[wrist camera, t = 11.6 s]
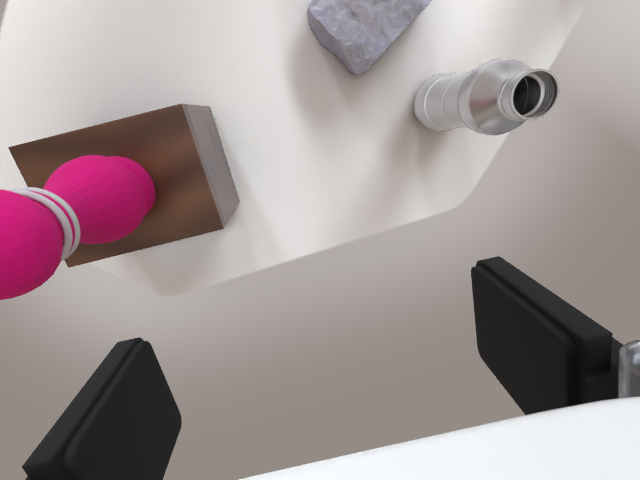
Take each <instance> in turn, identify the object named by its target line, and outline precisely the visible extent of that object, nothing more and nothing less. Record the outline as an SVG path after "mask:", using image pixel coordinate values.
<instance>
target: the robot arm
mask: <svg viewBox="0 0 640 480" xmlns="http://www.w3.org/2000/svg"><path fill="white" fill-rule="evenodd" d="M471 277H472V289H473V300H474V312H475V323H476V334H477V346H478V350H479V353H480V356H481V358H482V359H483V361H484V362H485V363H486V365H487V366H488V367H489V369H490V370H491V371H492V372H493V374H494V375H495V376H496V378H497V379H498V380H499V381H500V383H501V384H502V385H503V387H504V388H505V389H506V390H507V392H508V393H509V394H510V396H511V397H512V398H513V399H514V401H515V402H516V403H517V405H518V406H519V407H520V408H521V410H522V411H523V412H524V413H525V416H520V417H515V418H511V419H506V420H502V421H497V422H493V423H488V424H484V425H479V426H475V427H470V428H466V429H461V430H457V431H452V432H448V433H443V434H438V435H434V436H430V437H425V438H420V439H416V440H411V441H407V442H403V443H398V444H394V445H389V446H385V447H381V448H376V449H372V450H367V451H363V452H358V453H354V454H349V455H345V456H341V457H336V458H332V459H328V460H323V461H318V462H314V463H310V464H305V465H301V466H297V467H292V468H288V469H283V470H279V471H274V472H270V473H265V474H261V475H257V476H252V477H248V478H243V479H239V480H640V340H635V341H632V342H629V343H627V344H625V345H623V344H621V343H619V342H618V341H617V340H615V339H614V338H613V337H612V333H611V332H610V331H608V330H607V329H605V328H604V327H602V326H601V325H599V324H598V323H596V322H595V321H593V320H592V319H591V318H589V317H588V316H586V315H585V314H583V313H582V312H580V311H579V310H577V309H576V308H574V307H573V306H571V305H570V304H569V303H567V302H565V301H564V300H562V299H561V298H560V297H558V296H557V295H555V294H554V293H552V292H551V291H549V290H548V289H546V288H545V287H543V286H542V285H540V284H539V283H538V282H536V281H535V280H533V279H532V278H530V277H529V276H527V275H526V274H525V273H523V272H521V271H520V270H519V269H517V268H516V267H514V266H513V265H511V264H510V263H508V262H507V261H505V260H504V259H503V258H501V257H494V258H489V259H485V260H480V261H478V262H477V264H476V267H473V268H472V269H471ZM180 429H181V415H180V412H179V410H178V407H177V405H176V402H175V400H174V398H173V396H172V393H171V391H170V388H169V386H168V384H167V381H166V379H165V376H164V374H163V372H162V369H161V367H160V365H159V362H158V360H157V358H156V355H155V353H154V351H153V348H152V346H151V344H150V343H149V342H148V341H144V340H142V339H141V338H134V339H130V340H126V341H121V342H118V343H117V344H116V345H115V346H114V348H113V349H112V350H111V351H110V353H109V354H108V355H107V356H106V358H105V359H104V360H103V362H102V363H101V364H100V366H99V367H98V368H97V369H96V371H95V372H94V373H93V375H92V376H91V377H90V379H89V380H88V381H87V383H86V384H85V385H84V387H83V388H82V389H81V390H80V392H79V393H78V394H77V396H76V397H75V398H74V400H73V401H72V402H71V403H70V405H69V406H68V407H67V409H66V410H65V411H64V413H63V414H62V415H61V417H60V418H59V419H58V420H57V422H56V423H55V424H54V426H53V427H52V428H51V430H50V431H49V432H48V434H47V435H46V436H45V437H44V439H43V440H42V441H41V443H40V444H39V445H38V447H37V448H36V450H34V452H33V453H32V454H31V456H30V457H29V458H28V460H27V461H26V462H25V464H24V465H23V466H22V468H23V469H24V471H25V472H26V474H27V475H28V477H27V478H26V480H163V477H164V474H165V471H166V468H167V465H168V463H169V460H170V457H171V454H172V451H173V449H174V446H175V443H176V440H177V437H178V434H179V431H180Z"/></svg>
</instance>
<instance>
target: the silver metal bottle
mask: <svg viewBox="0 0 640 480" xmlns="http://www.w3.org/2000/svg"><path fill="white" fill-rule="evenodd" d="M558 96H559V83H558V81H557V78H556V77H555V76H554V74H552V73H551V72H550V71H548V70H545V69H531V68H530V67H529V66H528V65H527V64H525V63H523V62H521V61H518V60H515V59H511V58H498V59H494V60H491V61H489V62H486V63H484V64H482V65H480V66H478V67H477V68H475V69H473V70H472V71H470V72H467V73H464V74H457V73H441V74H438V75H435V76H433V77H432V78H430V79H429V80H427V81H426V82H425V83H424V84H423V85H422V86H421V87H420V89H419V90H418V92H417V94H416V97H415V101H414V110H415V114H416V116H417V118H418V120H419V121H420V122H421V123H422V124H423V125H424V126H426V127H427V128H429V129H432V130H435V131H446V130H451V129H454V128H457V127H464V128H468V129H470V130H473V131H475V132H477V133H481V134H485V135H500V134H504V133H506V132H509V131H511V130H513V129H515V128H517V127H518V126H520V125H521V124H523V123H524V122H525V121H526V120H535V119H538V118H541V117H543V116H544V115H546V114H547V113H548V112H549V111H550V110H551V109H552V108H553V107H554V105H555V103H556V101H557V99H558Z"/></svg>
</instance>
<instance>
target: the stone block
mask: <svg viewBox="0 0 640 480" xmlns="http://www.w3.org/2000/svg"><path fill="white" fill-rule="evenodd" d="M430 2H431V0H312V2H311V3H310V5H309V7H308V12H307V13H308V20H309V25H310V27H311V29H312V30H313V31H314V33H315V35H316V36H317V39H318V40H319V42H320V44H321V45H322V46H323V47H325V48H327V49H328V50H329V51H330V52H331V53H333V54H334V55H335V56H336V57H337V58H339V59H340V61H341V62H342V63H343V64H344V65H345V67H346V68H347V69H348V70H349V71H350V72H351V73H353V74H355V75H357V76H359V75H361V74H363V73H365V71H366V70H368V69H369V68H370V66H371V65H372V64H373V63H374V62H375V61H376V60H377V59H378V58H379V57H380V56H381V55H382V54H383V53H384V52H385V51H386V50H387V49H388V47H389V46H390V45H391V44H392V43H393V42H394V41H395V40H396V39H397V37H398V36H399V35H400V34H401V33H402V32H403V31H404V30H405V29H406V27H407V26H408V25H409V24H410V23H411V22H412V21H413V20H414V19H415V18H416V17H417V16H418V15H419V14H420V13H421V12H422V11H423V10H424V9H425V8H426V7H427V6H428V4H429V3H430Z"/></svg>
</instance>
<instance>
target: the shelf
mask: <svg viewBox="0 0 640 480" xmlns="http://www.w3.org/2000/svg"><path fill="white" fill-rule="evenodd" d="M9 150H10V152H11V154H12V156H13V158H14V160H15V162H16V164H17V166H18V168H19V170H20V172H21V174H22V176H23V178H24V180H25V182H26V184H27V186H28V187H34V188H40V189H43V188H44V185H45V183H46V181H47V180H48V178H49V177H50V176H51V175H52V174H53V173H54V172H55V171H56V170H57V169H58V168H59V167H60V166H61V165H63V164H64V163H66V162H68V161H71V160H73V159H76V158H78V157H81V156H87V155H99V156H105V157H111V156H120V157H125V158H128V159H131V160H133V161H135V162H136V163H138V164H140V165H141V166H142V167H143V168H144V169H145V170H146V171H147V172H148V174H149V175H150V177H151V179H152V181H153V183H154V186H155V202H154V205H153V207H152V209H151V210H150V212H149V213H148V214H147V215H146V216H144V217H143V219H142V221H141V223H140V224H139V226H138V227H137V228H136V229H135V230H134V231H133V232H132V233H130V234H129V235H127V236H125V237H123V238H121V239H118V240H116V241H113V242H108V243H101V244H85V243H79V244H78V246H77V248H76V249H75V251H74V252H73V253H72V254H71V255H70V256H69V257H68V258H66V259H64V260H65V262H66V264H67V266H68V267H73V266H76V265H80V264H84V263H89V262H93V261H97V260H101V259H105V258H109V257H113V256H117V255H121V254H125V253H129V252H133V251H137V250H141V249H145V248H149V247H153V246H157V245H161V244H165V243H169V242H173V241H177V240H181V239H185V238H189V237H193V236H197V235H201V234H205V233H209V232H213V231H217V230H221V229H224V227H225V226H226V224H227V222H228V221H229V219H230V217H231V216H232V214H233V212H234V210H235V209H236V207H237V205H238V204H239V202H240V201H239V198H238V195H237V191H236V188H235V185H234V182H233V179H232V176H231V172H230V169H229V166H228V163H227V160H226V157H225V153H224V150H223V147H222V144H221V141H220V138H219V134H218V131H217V128H216V125H215V122H214V119H213V115H212V112H211V109H210V107H208V106H198V105H188V104H178V105H174V106H170V107H166V108H162V109H158V110H154V111H150V112H146V113H143V114H139V115H135V116H131V117H127V118H123V119H119V120H115V121H111V122H107V123H103V124H99V125H95V126H91V127H87V128H83V129H79V130H75V131H71V132H67V133H63V134H59V135H55V136H52V137H48V138H44V139H40V140H36V141H32V142H28V143H24V144H20V145H16V146H12V147H9Z"/></svg>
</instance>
